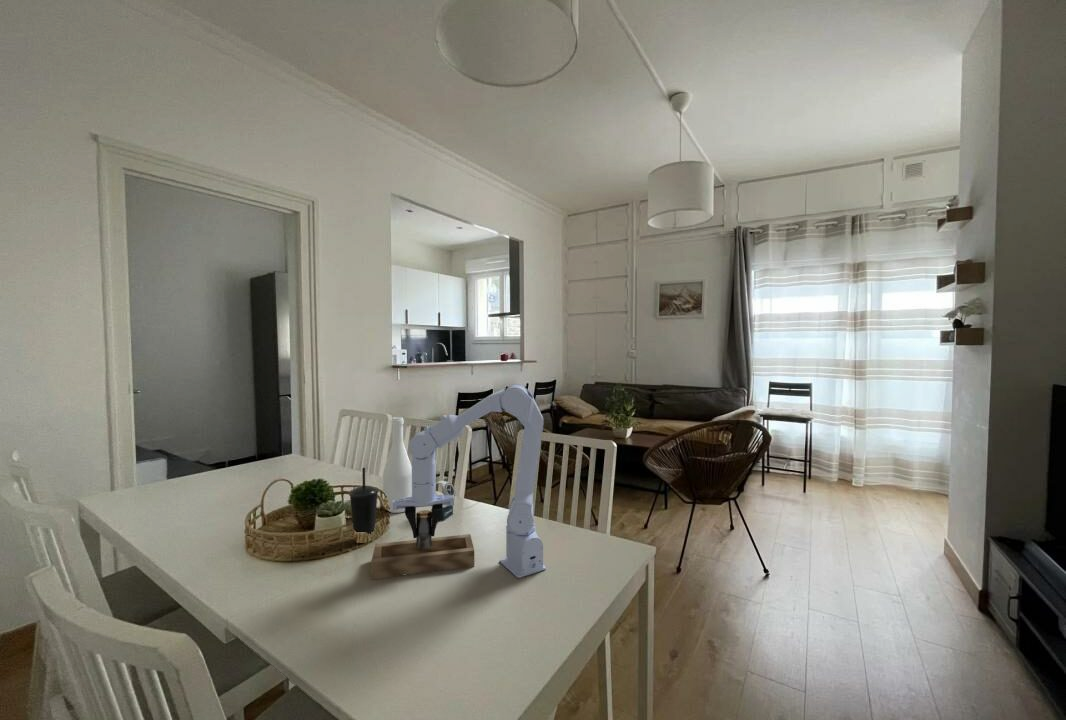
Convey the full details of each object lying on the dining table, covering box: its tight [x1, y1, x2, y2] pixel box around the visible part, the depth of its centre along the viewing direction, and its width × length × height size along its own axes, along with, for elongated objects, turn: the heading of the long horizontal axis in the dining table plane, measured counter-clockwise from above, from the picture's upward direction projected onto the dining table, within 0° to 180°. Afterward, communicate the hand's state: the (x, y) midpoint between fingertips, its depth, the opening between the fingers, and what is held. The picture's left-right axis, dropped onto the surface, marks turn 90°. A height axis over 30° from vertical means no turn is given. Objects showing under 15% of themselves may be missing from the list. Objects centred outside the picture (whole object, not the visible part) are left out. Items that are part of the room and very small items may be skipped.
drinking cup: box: [348, 467, 380, 534], centre depth 117 cm, size 8×8×20 cm
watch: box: [430, 480, 456, 522], centre depth 134 cm, size 6×8×11 cm
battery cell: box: [415, 509, 433, 549], centre depth 105 cm, size 4×4×8 cm
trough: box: [370, 533, 475, 580], centre depth 105 cm, size 24×9×4 cm, turn 104°
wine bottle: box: [382, 416, 412, 514], centre depth 140 cm, size 10×10×30 cm
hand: (424, 535), depth 105 cm, fingers closed on battery cell, 4 cm apart
